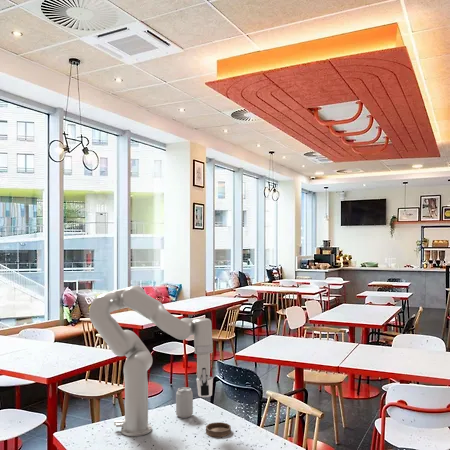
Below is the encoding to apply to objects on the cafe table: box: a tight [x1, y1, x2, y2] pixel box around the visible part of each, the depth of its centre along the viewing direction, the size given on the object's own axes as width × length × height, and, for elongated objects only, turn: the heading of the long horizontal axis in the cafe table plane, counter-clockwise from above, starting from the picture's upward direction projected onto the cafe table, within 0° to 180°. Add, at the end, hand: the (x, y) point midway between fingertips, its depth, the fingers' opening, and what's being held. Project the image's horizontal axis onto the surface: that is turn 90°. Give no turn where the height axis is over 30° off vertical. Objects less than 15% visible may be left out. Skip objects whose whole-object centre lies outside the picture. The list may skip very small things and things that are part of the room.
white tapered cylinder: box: [195, 375, 214, 398], centre depth 201 cm, size 7×7×7 cm
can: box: [175, 386, 194, 419], centre depth 220 cm, size 8×8×12 cm
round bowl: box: [205, 422, 232, 438], centre depth 200 cm, size 10×10×2 cm
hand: (205, 392), depth 201 cm, fingers closed on white tapered cylinder, 6 cm apart
